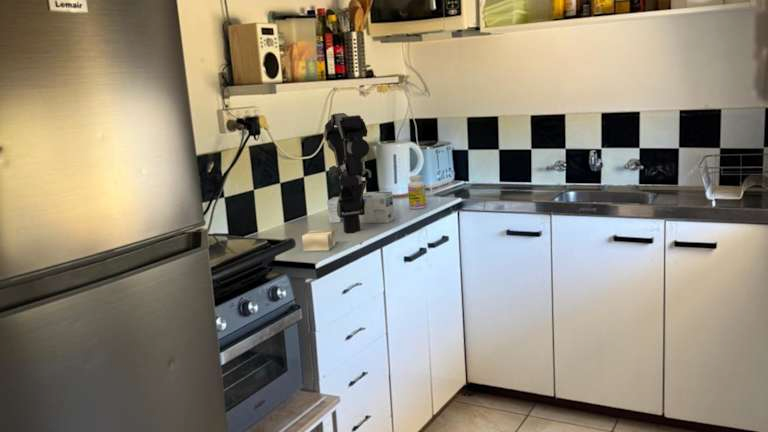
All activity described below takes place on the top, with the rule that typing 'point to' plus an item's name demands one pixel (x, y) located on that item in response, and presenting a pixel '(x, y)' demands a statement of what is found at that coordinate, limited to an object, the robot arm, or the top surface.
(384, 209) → the light bulb box
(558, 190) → the top surface
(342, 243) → the slate mat
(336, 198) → the medicine box
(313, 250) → the tile block
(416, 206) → the supplement bottle
